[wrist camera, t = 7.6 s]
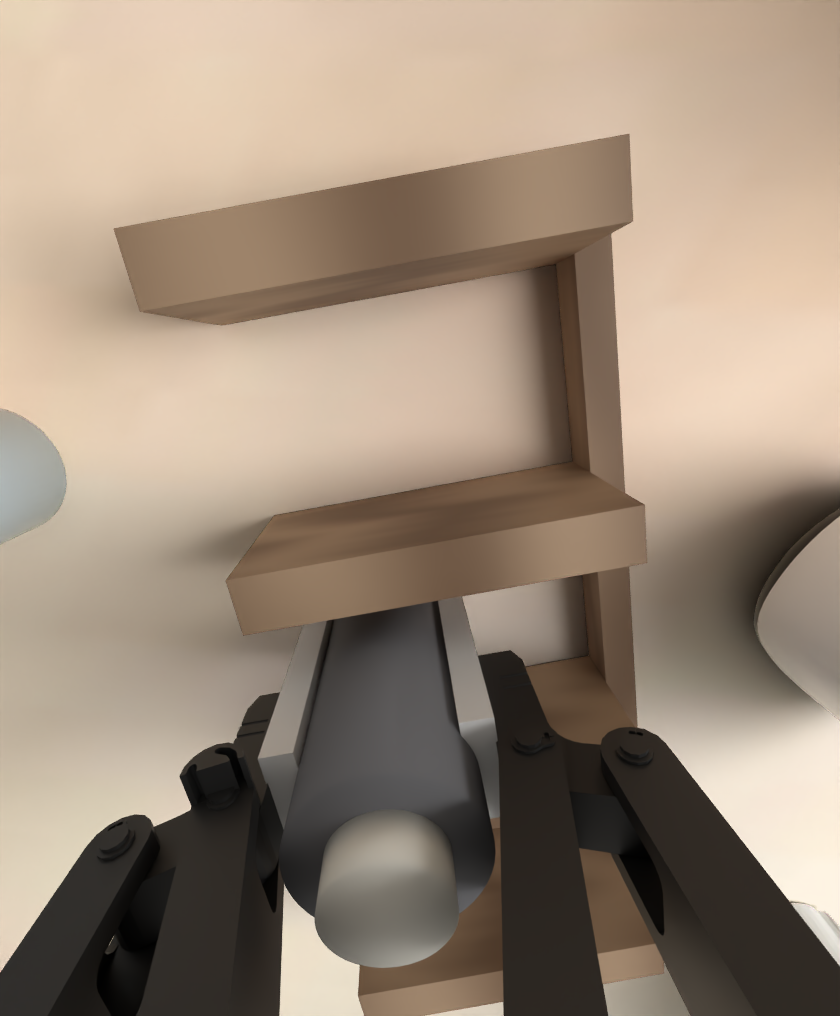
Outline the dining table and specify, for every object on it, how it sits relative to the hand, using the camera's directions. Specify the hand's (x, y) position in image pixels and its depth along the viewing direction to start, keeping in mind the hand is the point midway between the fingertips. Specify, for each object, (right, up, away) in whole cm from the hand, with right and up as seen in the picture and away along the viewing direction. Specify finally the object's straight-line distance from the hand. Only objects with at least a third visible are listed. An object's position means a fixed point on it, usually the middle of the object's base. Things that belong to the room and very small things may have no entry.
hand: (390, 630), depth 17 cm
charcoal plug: (0, 0, +1) cm, 1 cm away
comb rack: (+3, +1, +1) cm, 3 cm away
